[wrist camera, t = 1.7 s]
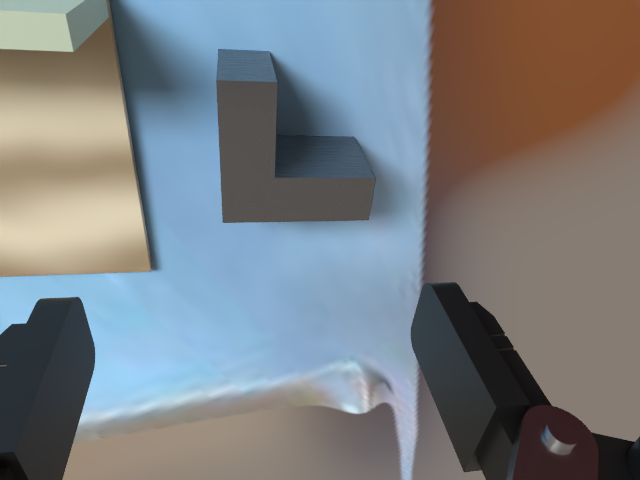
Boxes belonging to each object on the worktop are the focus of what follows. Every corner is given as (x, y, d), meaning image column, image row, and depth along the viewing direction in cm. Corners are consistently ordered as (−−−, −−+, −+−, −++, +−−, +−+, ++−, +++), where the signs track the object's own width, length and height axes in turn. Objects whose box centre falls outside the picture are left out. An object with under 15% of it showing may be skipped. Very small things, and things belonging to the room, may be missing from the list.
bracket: (218, 48, 23) (216, 80, 19) (364, 55, 24) (391, 86, 20) (223, 175, 27) (222, 222, 23) (348, 175, 28) (368, 220, 24)
